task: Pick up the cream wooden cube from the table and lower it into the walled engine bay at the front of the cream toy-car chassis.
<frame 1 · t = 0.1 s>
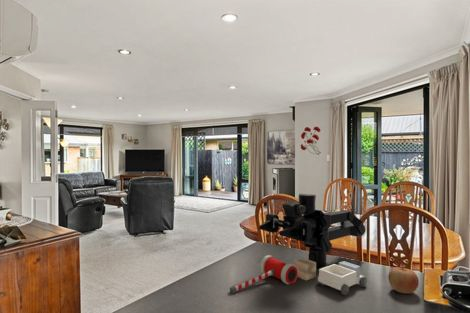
hand: (269, 230, 97), 17 cm above the kitchen counter, tool horizontal, fingers open, 9 cm apart
chassis: (341, 285, 96), on the kitchen counter
cream wooden cube: (305, 276, 103), on the kitchen counter
toy hammer: (266, 284, 97), on the kitchen counter
apple: (402, 292, 92), on the kitchen counter
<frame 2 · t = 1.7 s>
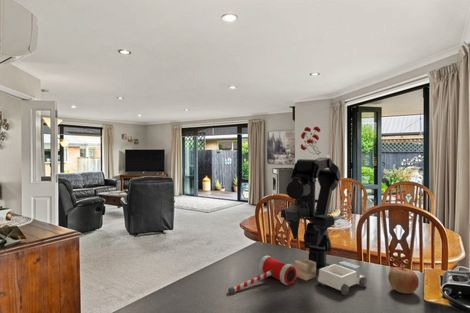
hand: (305, 242, 103), 11 cm above the kitchen counter, tool pointing down, fingers open, 9 cm apart
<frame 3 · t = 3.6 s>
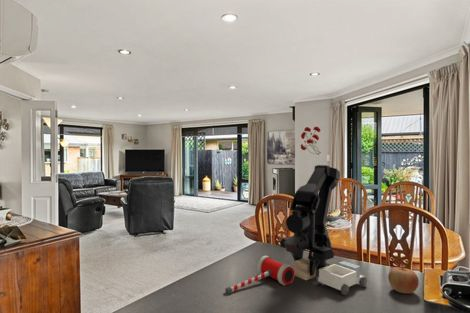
hand: (305, 273, 103), 1 cm above the kitchen counter, tool pointing down, fingers closed on cream wooden cube, 5 cm apart
cream wooden cube: (305, 276, 103), on the kitchen counter, touching gripper
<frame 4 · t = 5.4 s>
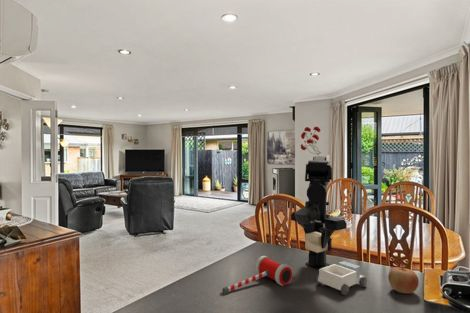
hand: (316, 246, 99), 11 cm above the kitchen counter, tool pointing down, fingers closed on cream wooden cube, 5 cm apart
cream wooden cube: (316, 249, 99), point 10 cm above the kitchen counter, touching gripper
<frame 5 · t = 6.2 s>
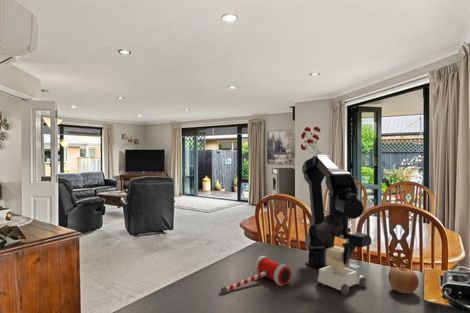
hand: (337, 261, 94), 8 cm above the kitchen counter, tool pointing down, fingers closed on cream wooden cube, 5 cm apart
cream wooden cube: (337, 265, 94), point 7 cm above the kitchen counter, touching gripper
when the fingers open (5 cm above the kitchen counter, at t = 7.1 s): cream wooden cube drops 2 cm, resting on chassis.
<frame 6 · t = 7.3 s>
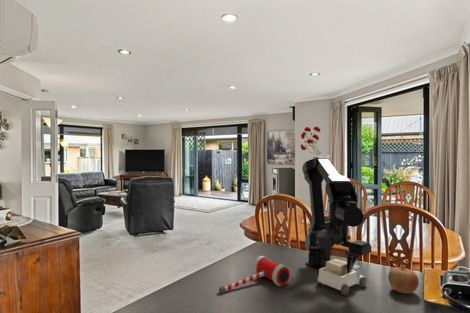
hand: (337, 269, 94), 6 cm above the kitchen counter, tool pointing down, fingers open, 7 cm apart
cream wooden cube: (337, 278, 94), point 3 cm above the kitchen counter, touching chassis
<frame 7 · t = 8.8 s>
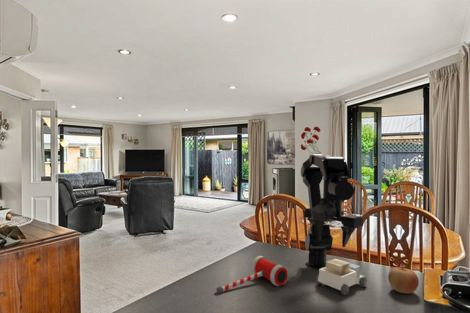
hand: (331, 243, 98), 12 cm above the kitchen counter, tool pointing down, fingers open, 9 cm apart
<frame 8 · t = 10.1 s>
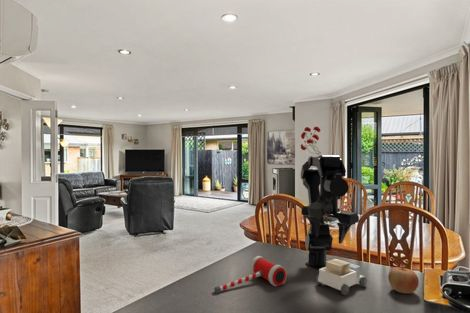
hand: (328, 240, 100), 13 cm above the kitchen counter, tool pointing down, fingers open, 9 cm apart
at the end: cream wooden cube 0.1 cm from the target spot on the chassis, point 2.7 cm above the chassis's base; cream wooden cube tilted 0°; the gripper is holding nothing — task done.
